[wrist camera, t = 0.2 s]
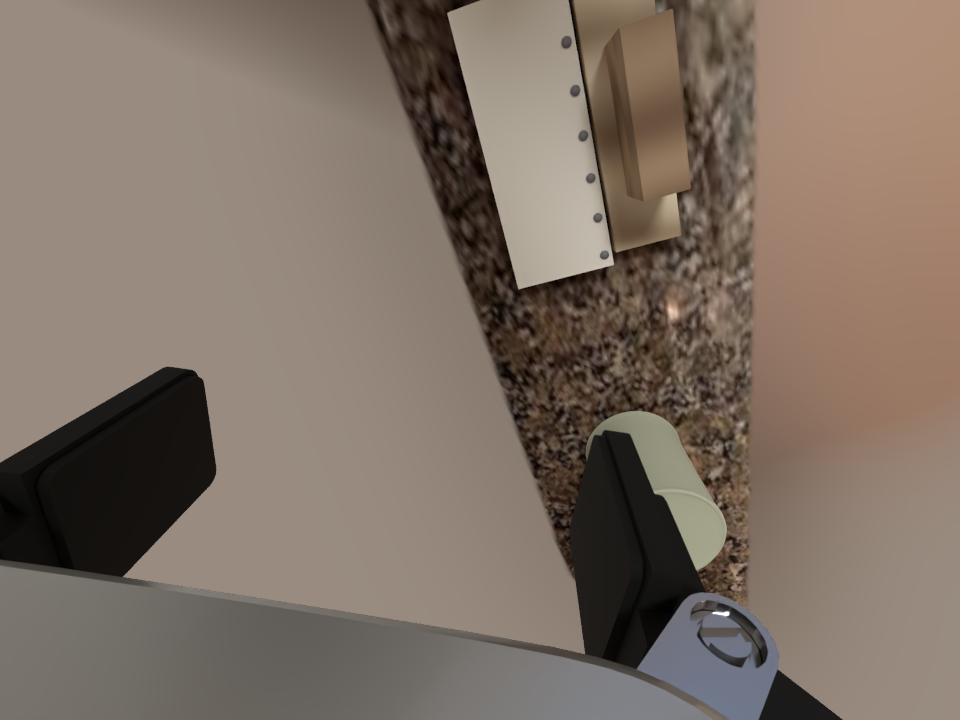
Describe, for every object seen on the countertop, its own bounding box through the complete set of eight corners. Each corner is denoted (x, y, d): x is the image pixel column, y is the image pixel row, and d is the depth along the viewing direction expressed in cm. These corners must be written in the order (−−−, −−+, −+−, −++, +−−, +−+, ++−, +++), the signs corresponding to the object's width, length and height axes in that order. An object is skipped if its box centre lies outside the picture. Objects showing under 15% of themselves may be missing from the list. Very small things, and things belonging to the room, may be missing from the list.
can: (665, 397, 43) (715, 479, 32) (689, 472, 46) (742, 569, 35) (572, 427, 45) (589, 513, 34) (601, 496, 49) (625, 595, 38)
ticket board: (450, 18, 33) (446, 12, 31) (561, -23, 31) (563, -32, 30) (518, 284, 40) (518, 289, 38) (610, 260, 38) (614, 265, 37)
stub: (568, -9, 31) (580, -47, 25) (643, -36, 30) (673, -83, 24) (612, 248, 38) (629, 265, 32) (675, 232, 37) (704, 246, 31)
